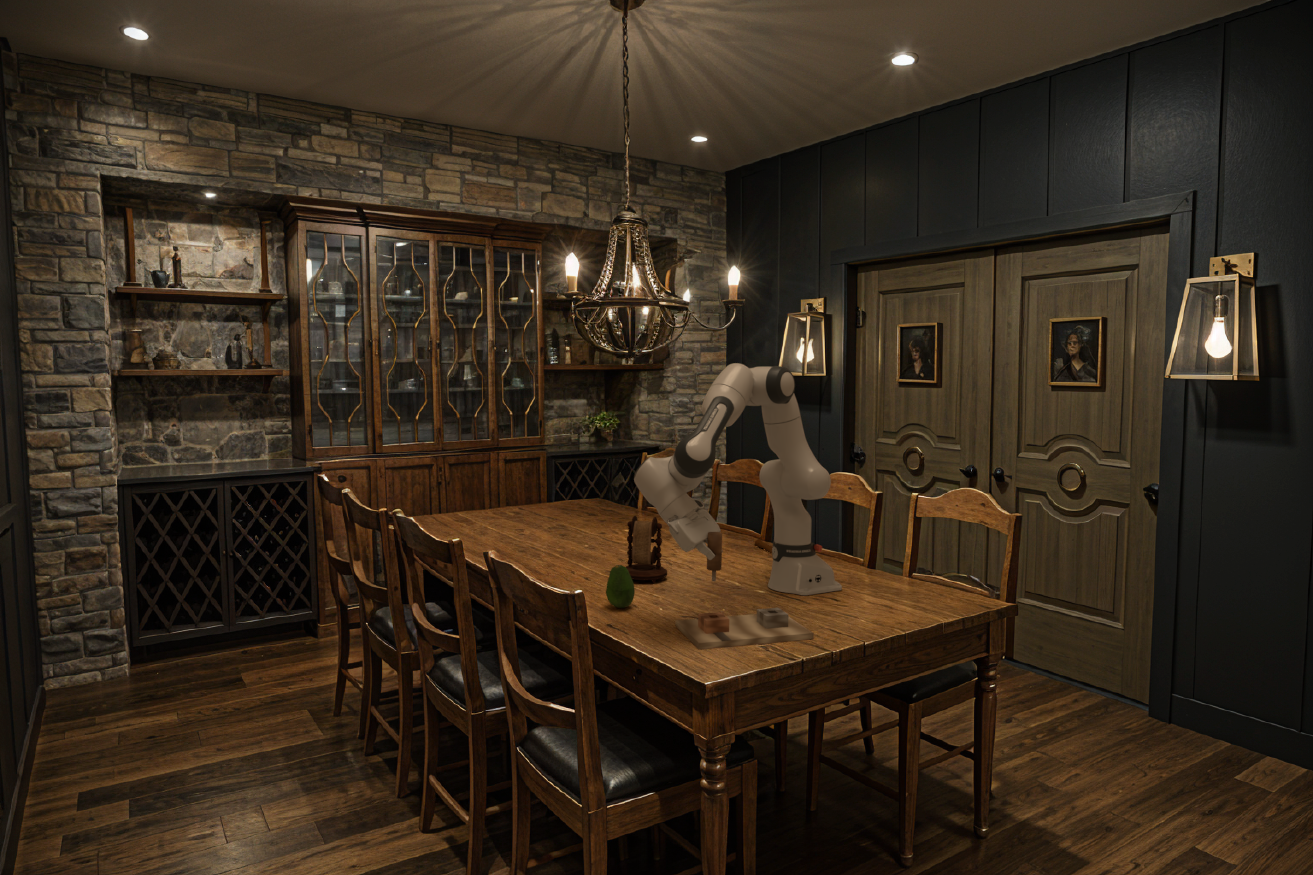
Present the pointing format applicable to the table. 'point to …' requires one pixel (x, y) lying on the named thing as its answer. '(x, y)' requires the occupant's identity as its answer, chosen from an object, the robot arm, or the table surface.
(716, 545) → the brown wooden peg
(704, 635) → the subfloor panel
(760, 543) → the primitive tool
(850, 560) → the table surface
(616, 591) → the avocado
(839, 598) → the table surface
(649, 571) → the scroll
